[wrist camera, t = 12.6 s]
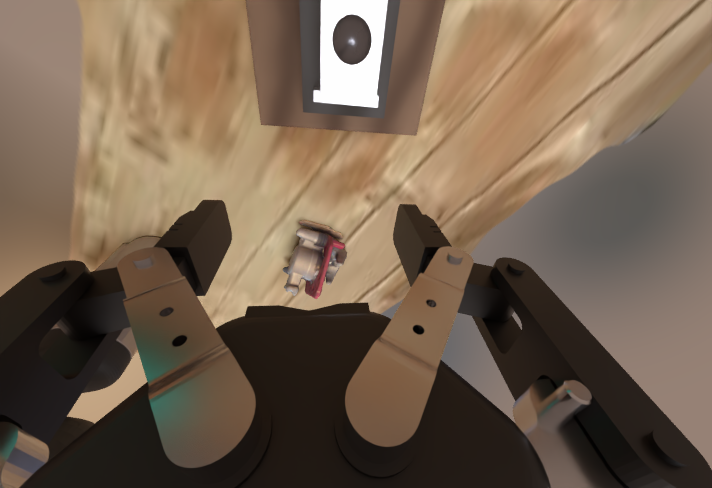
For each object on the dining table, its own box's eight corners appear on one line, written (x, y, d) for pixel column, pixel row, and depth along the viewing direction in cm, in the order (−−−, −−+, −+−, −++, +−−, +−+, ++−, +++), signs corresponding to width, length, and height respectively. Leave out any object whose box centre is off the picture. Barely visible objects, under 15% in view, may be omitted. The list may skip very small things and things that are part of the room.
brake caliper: (340, 289, 50) (300, 323, 40) (300, 254, 52) (252, 278, 42) (368, 246, 44) (329, 273, 34) (321, 208, 46) (271, 224, 36)
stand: (263, 121, 33) (253, 133, 29) (237, -101, 23) (215, -137, 18) (413, 132, 36) (425, 144, 31) (453, -64, 25) (480, -88, 21)
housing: (314, -39, 21) (310, -60, 17) (389, -28, 22) (403, -45, 18) (314, 98, 27) (312, 106, 23) (373, 103, 28) (381, 112, 24)
